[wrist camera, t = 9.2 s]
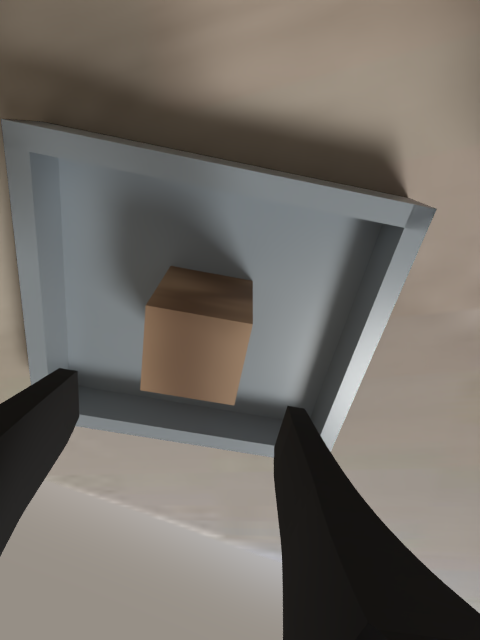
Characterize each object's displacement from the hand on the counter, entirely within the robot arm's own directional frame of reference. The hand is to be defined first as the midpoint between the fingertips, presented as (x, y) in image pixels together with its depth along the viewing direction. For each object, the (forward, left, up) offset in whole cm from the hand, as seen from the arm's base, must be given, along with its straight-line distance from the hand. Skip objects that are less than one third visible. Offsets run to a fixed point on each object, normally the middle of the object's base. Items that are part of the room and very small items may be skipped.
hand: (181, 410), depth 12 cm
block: (0, 0, -9) cm, 9 cm away
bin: (0, +1, -9) cm, 9 cm away
